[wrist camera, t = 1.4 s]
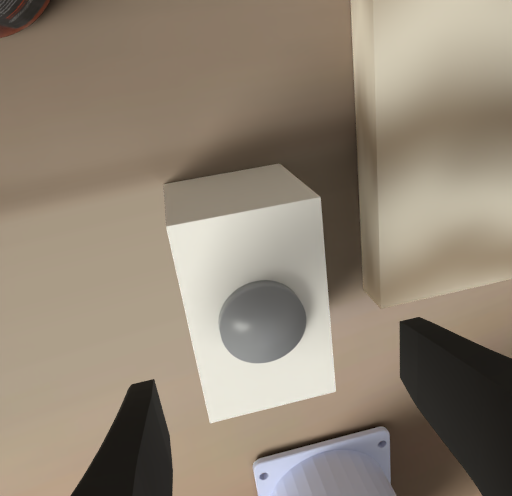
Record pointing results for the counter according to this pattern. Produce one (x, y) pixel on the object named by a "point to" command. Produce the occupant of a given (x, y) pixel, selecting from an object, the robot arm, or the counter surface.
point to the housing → (253, 287)
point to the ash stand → (433, 145)
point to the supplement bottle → (19, 14)
